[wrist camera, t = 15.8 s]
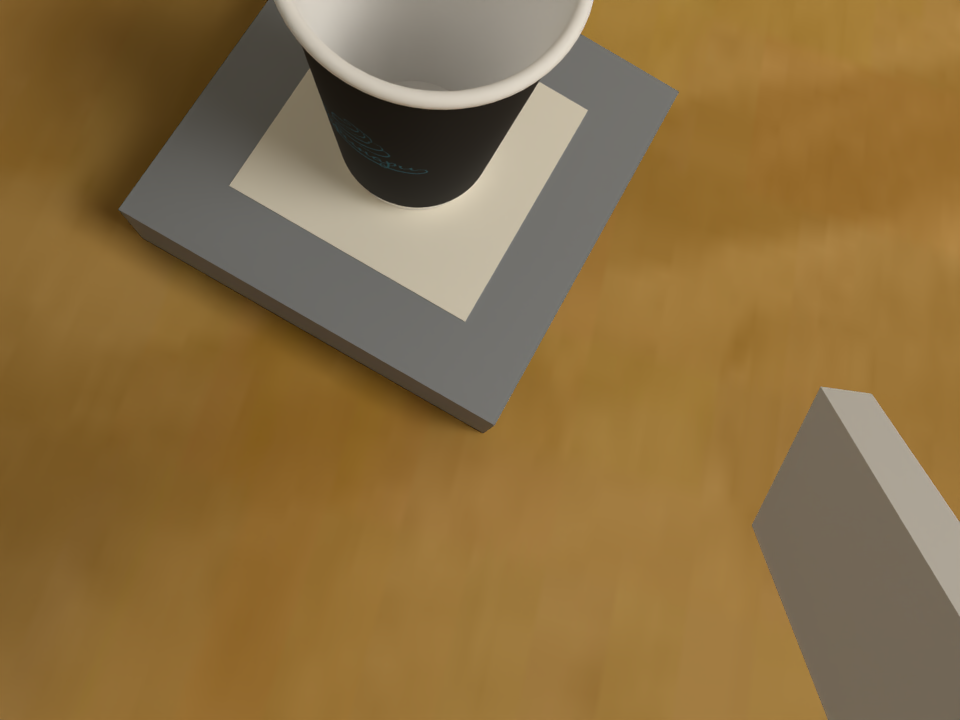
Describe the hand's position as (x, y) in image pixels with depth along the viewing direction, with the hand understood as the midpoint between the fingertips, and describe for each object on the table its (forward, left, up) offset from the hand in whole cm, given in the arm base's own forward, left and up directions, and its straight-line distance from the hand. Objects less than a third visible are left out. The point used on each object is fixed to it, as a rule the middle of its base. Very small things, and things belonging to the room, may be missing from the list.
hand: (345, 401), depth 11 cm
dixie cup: (-4, +11, -17) cm, 21 cm away
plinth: (-4, +11, -20) cm, 23 cm away
